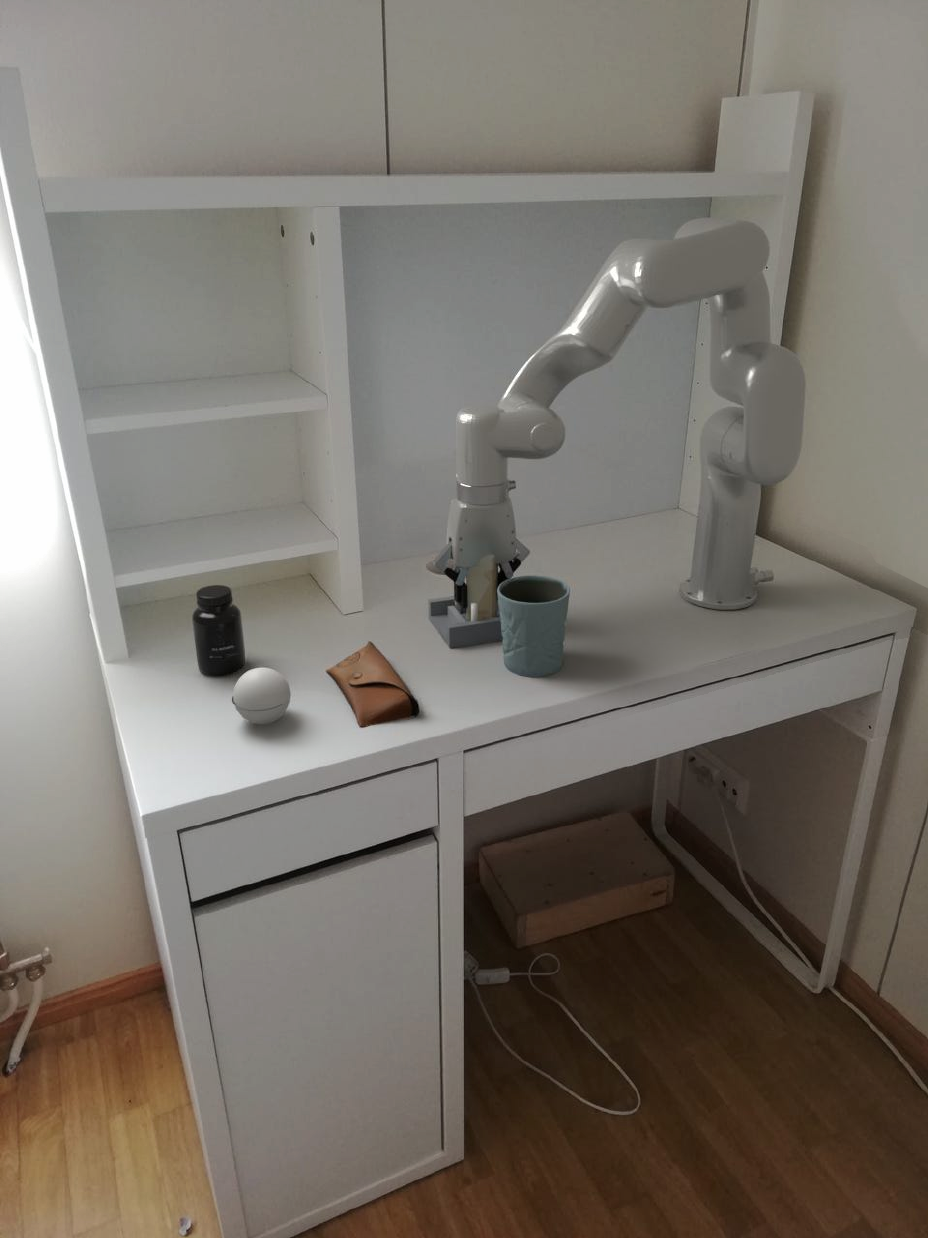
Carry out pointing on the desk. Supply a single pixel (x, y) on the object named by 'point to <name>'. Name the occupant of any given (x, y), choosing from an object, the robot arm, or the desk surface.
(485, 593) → the box
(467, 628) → the tray
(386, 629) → the desk surface
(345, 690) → the sunglasses case
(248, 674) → the white ball
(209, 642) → the supplement bottle
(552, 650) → the teal embossed cup
